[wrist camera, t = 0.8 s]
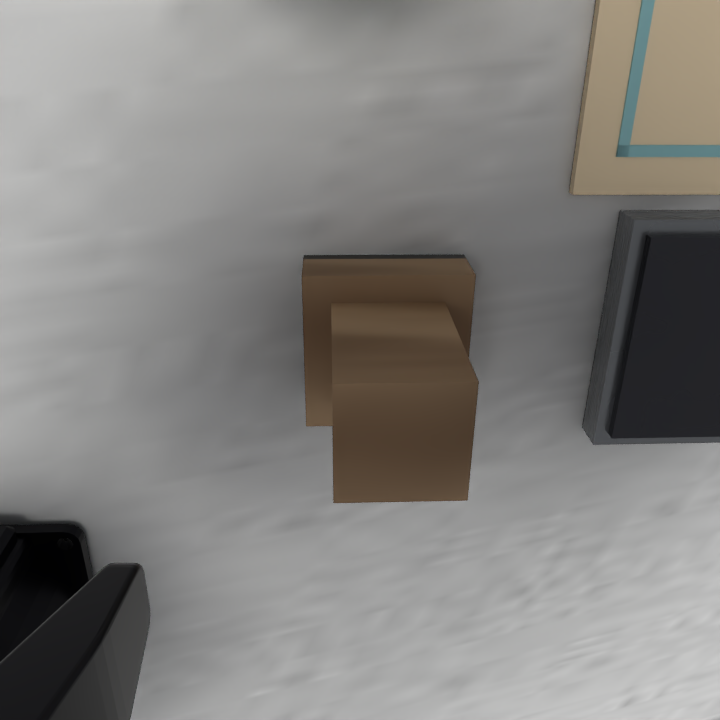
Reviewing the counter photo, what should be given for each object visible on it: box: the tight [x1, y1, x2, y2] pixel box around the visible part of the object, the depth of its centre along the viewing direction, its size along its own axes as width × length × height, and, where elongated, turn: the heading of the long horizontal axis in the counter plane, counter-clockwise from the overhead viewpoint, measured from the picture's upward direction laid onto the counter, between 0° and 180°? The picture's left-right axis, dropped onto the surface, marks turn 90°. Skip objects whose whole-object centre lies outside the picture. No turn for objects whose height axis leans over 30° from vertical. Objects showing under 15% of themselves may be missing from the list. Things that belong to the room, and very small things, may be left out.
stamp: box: [302, 255, 479, 503], centre depth 18 cm, size 4×4×6 cm
